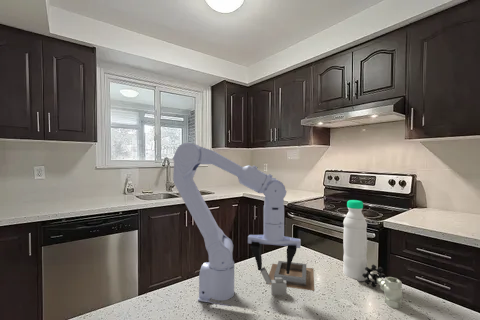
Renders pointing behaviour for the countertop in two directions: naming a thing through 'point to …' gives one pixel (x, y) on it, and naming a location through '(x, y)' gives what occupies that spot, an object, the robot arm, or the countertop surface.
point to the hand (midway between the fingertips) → (273, 270)
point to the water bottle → (355, 241)
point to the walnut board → (298, 274)
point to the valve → (386, 286)
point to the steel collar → (292, 279)
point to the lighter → (275, 283)
